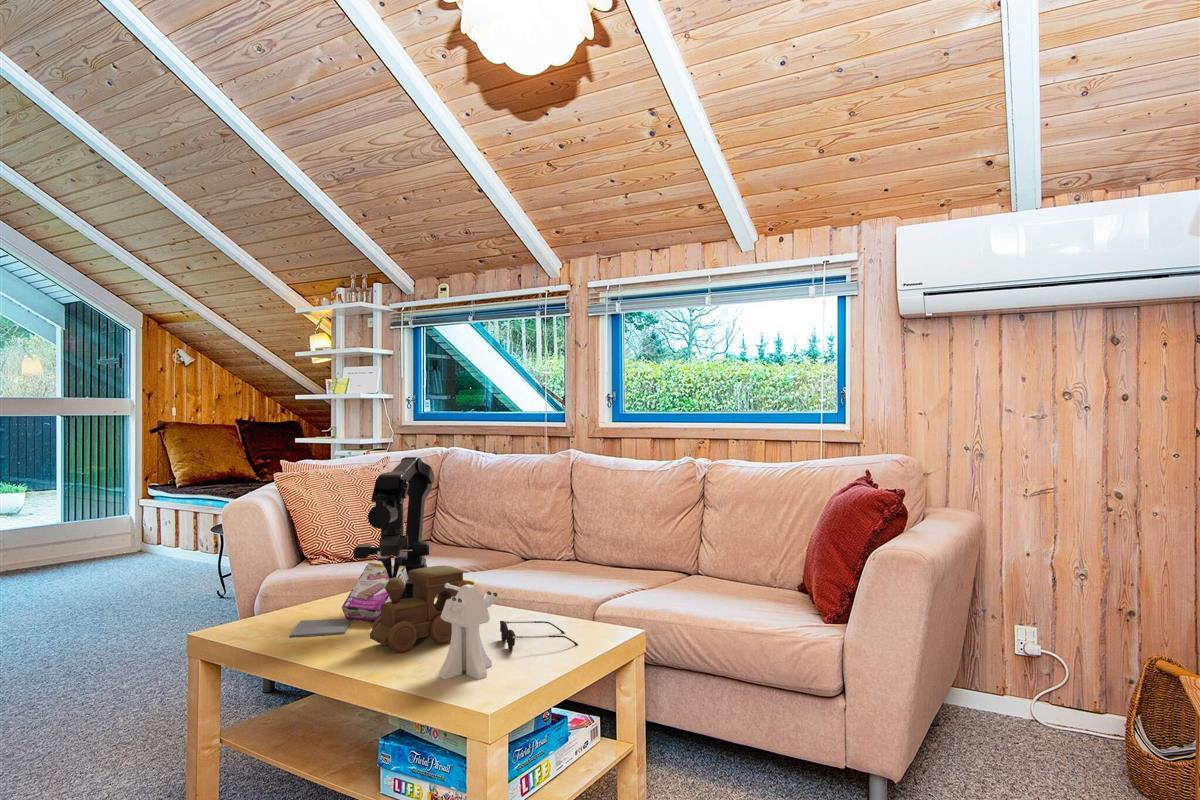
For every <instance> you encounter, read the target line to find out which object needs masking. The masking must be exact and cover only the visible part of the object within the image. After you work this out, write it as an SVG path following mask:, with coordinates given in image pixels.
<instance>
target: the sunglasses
mask: <svg viewBox="0 0 1200 800" xmlns="http://www.w3.org/2000/svg"><path fill="white" fill-rule="evenodd" d="M507 624H548V625H550V626H552V627H554V628H556V629H557V630H558V631H559V632H560V633H561V634H564V635H533V636H532V635H516V633H515V631H514V630H512V629H509V627H508V625H507ZM499 627H500V628H499V629H500V630H499V631H500V633H501V636H500V637H501V642H502V643H503V644H504V645H506V643H507V648H508V650H509V651H510V653H513V650H514V646H515V644H516V639H526V638H527V639H531V638H533V639H535V638H537V639H539V638H543V639H544V638H564V639H567V640H568V641H570V642H572V643H573V645H574V646H579V644H578V643H577V642H576V641H575V640H572V639H571V638H570V637H567V636H565V634H566V632H565V631H564V630H562V628H559V626H556V625H555V624H553V623H552V622H550V621H542V620H541V621H539V620H538V621H509V620H507V621H505V620H499Z"/></svg>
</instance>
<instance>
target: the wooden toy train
mask: <svg viewBox="0 0 1200 800" xmlns="http://www.w3.org/2000/svg"><path fill="white" fill-rule="evenodd" d="M463 580H464V571H463V570H462V569H460V568H457V567H455V566H451V565H435V566H433V565H432V566H427V567H426V568H419V569H414V570H410V571H409V582H412V583H413V595H414V598H407V599H401V600H400V598H401V596H402V594H403V591H404V589H405V587H406V585H405V584H404V583H403V581H402V580H401V578H390V579H389V581H388V583H387V584H386V586H385V589H386V591H387V593H388V595H389V597H390V599H391V601H390V602H386V603H382V604H381V616H380V617H379V618H377V619H376V621H375V622H374V623H372V628H371V631H370V632H369V639H371V640H373V641H374V642H377V643H378V644H380V645H381V646H385V645H388V646H389V647H390V649H391V650H392V651H393V652H395V653H405V652H407V651H410V649H411V648H413V646H414V645H415V644H416V641H417V639H419V638H421V639H422V638H425V637H429V636H430V638H431V639H432V640H433V641H434V642H435V643H437V644H440V645H443V644H446V643H449V642H451V635H452V623H449V622H446V621H444V620H443V619H442V618H440V617H441V614H442V611H443V608H444V605H445V602H446V600H448V599H451V597H455V596H456V595H457V593H458V592H459V591H457V590H454V589H450V588H445V584H446V583H449V584H450V585H453V586H456V587H459V583H460V582H463ZM437 594H438V599H437V598H436V596H437ZM435 600H436V601H435Z"/></svg>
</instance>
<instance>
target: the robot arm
mask: <svg viewBox="0 0 1200 800" xmlns="http://www.w3.org/2000/svg"><path fill="white" fill-rule="evenodd" d="M434 482H435V473H434V471H433V469H432V466H431V465H429V464H428V463H425V462H423V460H422V458H421V457H418V456H405V457H403V458H401V460H400V463H398V465H396V467H394V468H393V470H392V471H386V472H383V473H381V474H379V475H378V476H377V478H376V480H375V483H374V487H373V491H372V496H371V503H375V505H374V506H373V507H371V509H370V510H369V511H368V514H367V521H368V523H369V524H370V526H372V527H373V528H374V529H380V537H379V540H378V541H379V546H373V545H372V543H361V544H360V543H359V544H357V545H356V546H355V547H354V549H353V559H356V560H358V559H367V558H368V557H369V556H370V555H376V556H377V558H376V561H378V562H381V564H383V565H384V567H385V568H386V571H387V574H388V576H389V579H390V578H396V576H397V573H398V570H399V566H405V567H406V571H407V575H408V578H409V571H410V570H414V569H419V568H426V567H428V565H427V558H426V557H427V556H430V553H431V545H430V544H431V543H429V541H423V529H424V519H425V518H424V516H425V504H426V499H427V498H428V496H429V494H430V493H431V492H432V487H433V484H434ZM407 496H408V503H407V513H406V526H405V525H404V523H405V522H404V502H405V501H404V500H405V499H407ZM404 526H405V527H406V528H405V527H404ZM404 528H405V531H404ZM404 532H405V534H404ZM392 556H393V557H394V559H393V561H394V562H393V564H392ZM425 556H426V557H425ZM392 565H394V570H393V572H392ZM405 585H406V587H405V589H404V591H403V594H402V596H401V598H400V600H401V599H407V598H414V595H413V583H412V582H409V579H408V581H407V583H406V584H405Z"/></svg>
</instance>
